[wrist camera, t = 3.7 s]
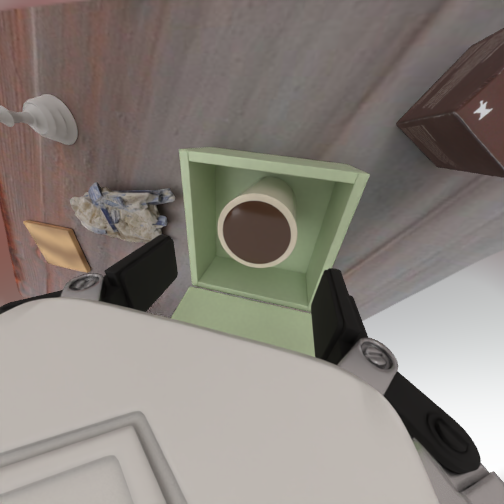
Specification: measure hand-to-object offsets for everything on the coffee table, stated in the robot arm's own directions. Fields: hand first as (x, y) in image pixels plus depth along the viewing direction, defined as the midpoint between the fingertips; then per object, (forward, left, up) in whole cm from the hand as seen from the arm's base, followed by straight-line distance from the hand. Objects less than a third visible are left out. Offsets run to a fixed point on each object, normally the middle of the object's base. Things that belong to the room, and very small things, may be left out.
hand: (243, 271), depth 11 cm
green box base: (+2, 0, -13) cm, 13 cm away
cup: (0, 0, -13) cm, 13 cm away
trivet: (+14, -37, -13) cm, 42 cm away
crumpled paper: (+4, -19, -14) cm, 24 cm away
